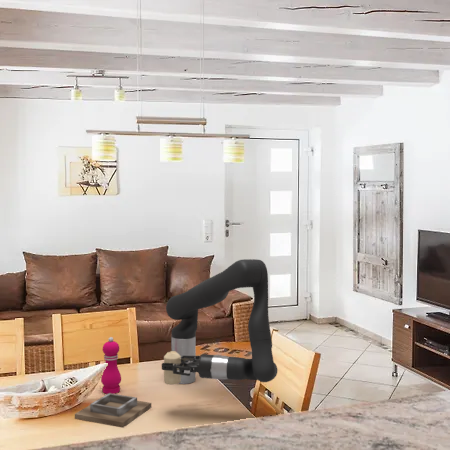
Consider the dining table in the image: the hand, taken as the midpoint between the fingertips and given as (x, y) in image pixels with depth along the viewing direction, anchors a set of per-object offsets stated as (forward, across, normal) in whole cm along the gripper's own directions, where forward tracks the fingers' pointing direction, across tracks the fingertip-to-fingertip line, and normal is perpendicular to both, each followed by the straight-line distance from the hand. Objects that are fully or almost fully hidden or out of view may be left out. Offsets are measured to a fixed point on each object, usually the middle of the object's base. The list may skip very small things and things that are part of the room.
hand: (165, 363), depth 193 cm
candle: (-3, 0, +6) cm, 7 cm away
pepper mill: (+25, -15, +17) cm, 34 cm away
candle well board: (+16, +4, +16) cm, 24 cm away
